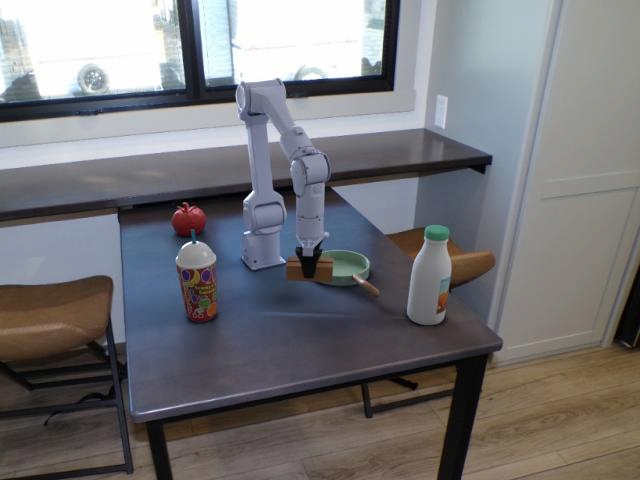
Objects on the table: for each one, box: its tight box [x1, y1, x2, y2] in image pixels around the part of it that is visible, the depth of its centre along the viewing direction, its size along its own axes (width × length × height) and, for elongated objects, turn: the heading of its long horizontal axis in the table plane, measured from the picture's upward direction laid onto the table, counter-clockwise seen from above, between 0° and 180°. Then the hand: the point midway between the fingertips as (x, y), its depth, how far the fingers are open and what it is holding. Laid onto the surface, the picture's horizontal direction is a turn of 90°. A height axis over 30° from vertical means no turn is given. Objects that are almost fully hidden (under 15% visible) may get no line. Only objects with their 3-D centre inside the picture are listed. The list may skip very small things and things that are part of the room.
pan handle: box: [352, 274, 381, 299], centre depth 118 cm, size 10×2×2 cm, turn 23°
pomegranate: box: [171, 202, 207, 237], centre depth 152 cm, size 10×10×9 cm
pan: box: [320, 249, 371, 287], centre depth 128 cm, size 15×15×3 cm
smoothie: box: [174, 229, 218, 323], centre depth 108 cm, size 8×8×20 cm
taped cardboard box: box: [285, 256, 333, 283], centre depth 114 cm, size 10×5×4 cm, turn 83°
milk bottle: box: [406, 224, 452, 326], centre depth 105 cm, size 8×8×20 cm
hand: (309, 272), depth 114 cm, fingers closed on taped cardboard box, 4 cm apart
